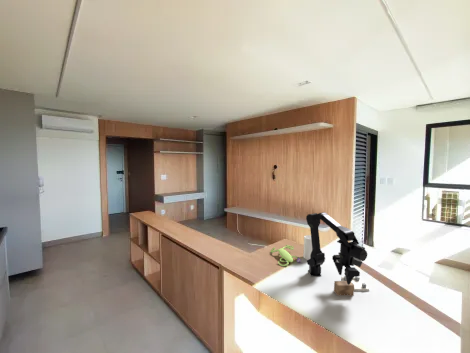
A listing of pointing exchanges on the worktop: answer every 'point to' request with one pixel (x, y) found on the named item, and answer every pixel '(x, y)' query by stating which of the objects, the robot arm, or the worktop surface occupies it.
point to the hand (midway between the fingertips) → (344, 279)
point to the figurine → (285, 255)
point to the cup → (307, 247)
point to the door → (343, 288)
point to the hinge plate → (357, 284)
